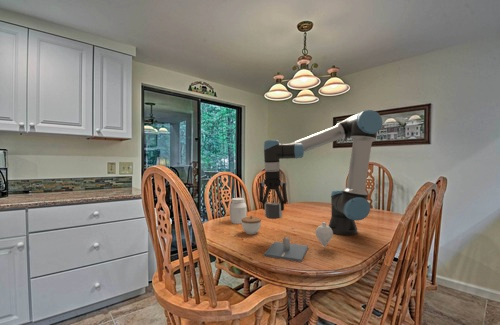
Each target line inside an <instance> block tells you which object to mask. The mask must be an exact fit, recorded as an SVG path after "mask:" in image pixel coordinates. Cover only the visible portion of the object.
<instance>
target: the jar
mask: <svg viewBox="0 0 500 325" xmlns="http://www.w3.org/2000/svg"><path fill="white" fill-rule="evenodd" d="M247 207H248V206H247V204H246V202H245V198H244V197H234V198H233V197H232V198H231V203H230V204H229V212H230V213H229V217H230V218H229V221H230V222H231V223H232V224H233V225H242V218H245V217H248V216H247Z"/></svg>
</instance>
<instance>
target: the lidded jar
mask: <svg viewBox="0 0 500 325" xmlns="http://www.w3.org/2000/svg"><path fill="white" fill-rule="evenodd" d="M261 222H262V219H261V217H259V216H253V215H250V216H247V217H245V218H242V224H241V225H242V226H241V227H242V229H243V231H244V232H245V233H246V234H247V235H256V234H258V232H259V231H260V229H261Z"/></svg>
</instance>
